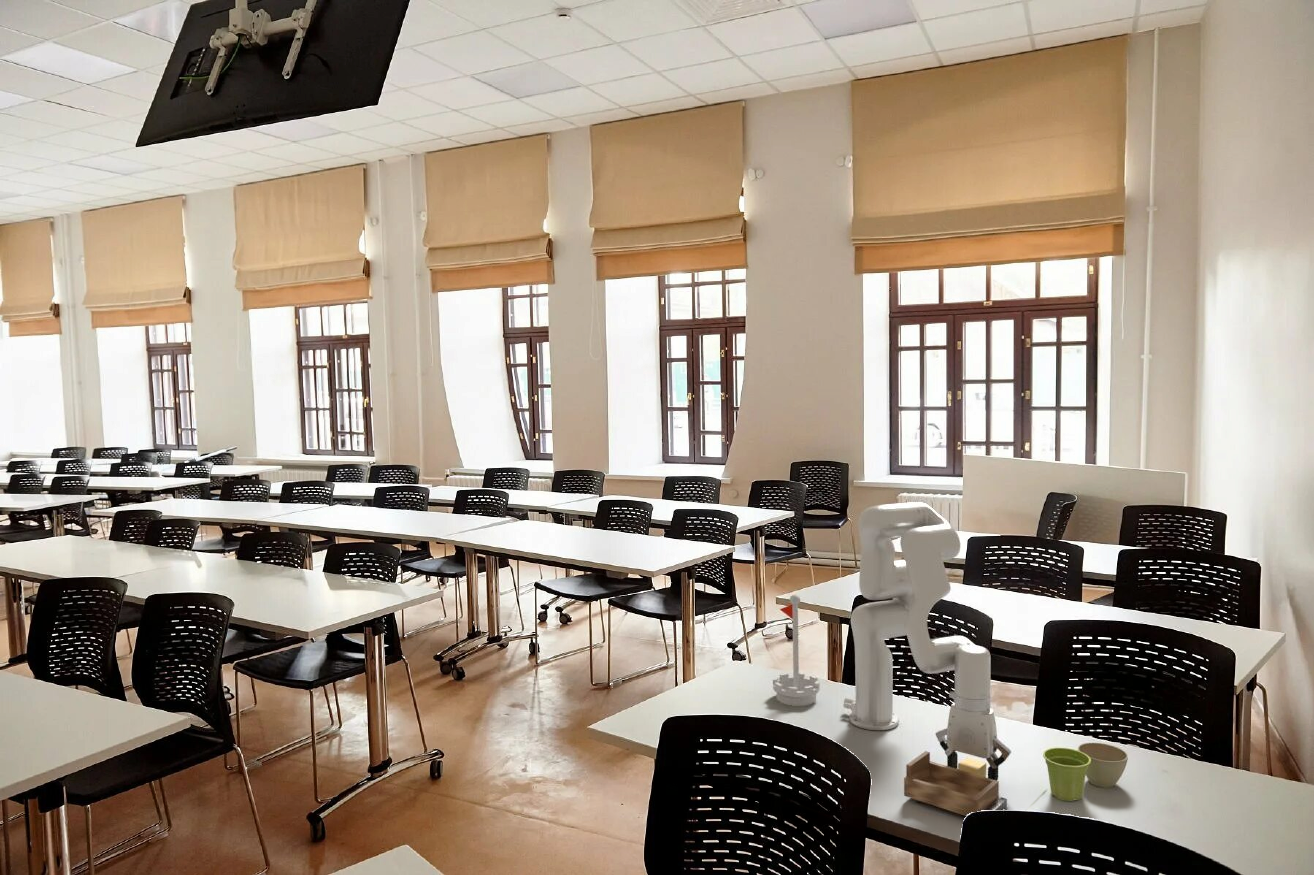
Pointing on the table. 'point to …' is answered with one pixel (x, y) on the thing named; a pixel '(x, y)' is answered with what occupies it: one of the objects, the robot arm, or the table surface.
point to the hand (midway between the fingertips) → (972, 777)
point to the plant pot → (1066, 772)
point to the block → (973, 766)
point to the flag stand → (795, 670)
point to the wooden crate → (948, 786)
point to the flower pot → (1104, 763)
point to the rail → (999, 804)
